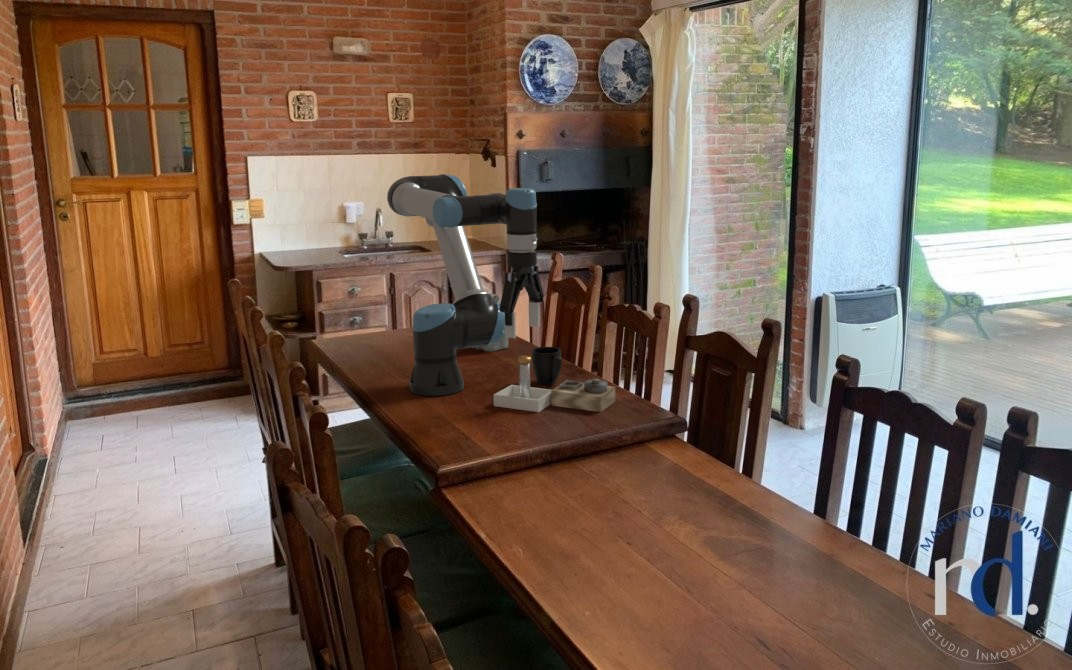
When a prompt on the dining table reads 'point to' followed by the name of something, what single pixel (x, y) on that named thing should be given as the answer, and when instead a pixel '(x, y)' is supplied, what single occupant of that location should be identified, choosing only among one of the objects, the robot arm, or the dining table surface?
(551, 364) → the mug
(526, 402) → the tray
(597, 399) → the beige compartment box
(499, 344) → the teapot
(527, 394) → the pin
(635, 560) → the dining table surface
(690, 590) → the dining table surface
